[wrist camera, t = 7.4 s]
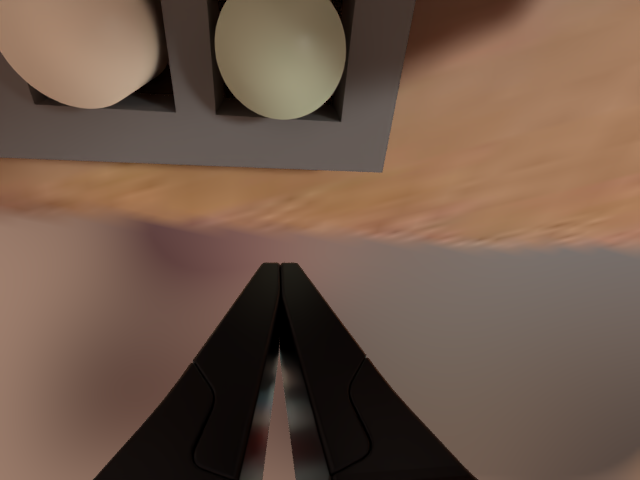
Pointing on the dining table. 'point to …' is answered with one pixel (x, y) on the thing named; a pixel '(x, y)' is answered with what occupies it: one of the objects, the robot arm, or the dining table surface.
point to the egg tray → (223, 105)
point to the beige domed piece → (84, 47)
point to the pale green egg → (280, 54)
